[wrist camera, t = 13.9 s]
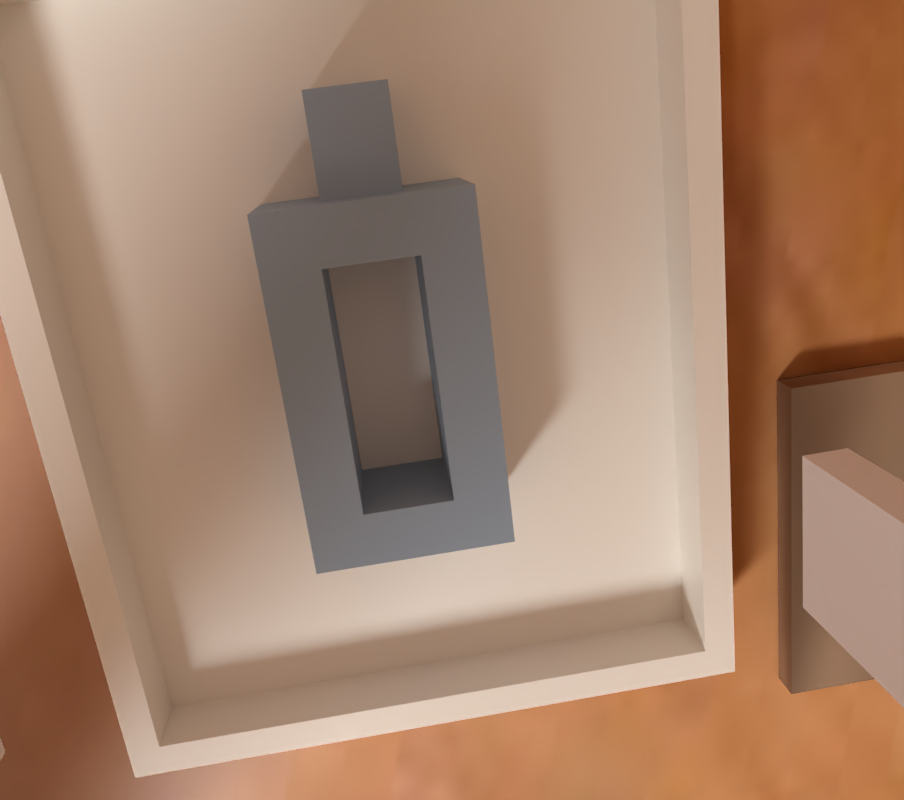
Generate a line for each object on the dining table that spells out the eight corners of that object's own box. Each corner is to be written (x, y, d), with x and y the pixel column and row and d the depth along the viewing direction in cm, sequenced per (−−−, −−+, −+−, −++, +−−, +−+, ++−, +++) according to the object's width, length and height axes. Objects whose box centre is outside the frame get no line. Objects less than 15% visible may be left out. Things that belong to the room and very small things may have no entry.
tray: (155, 717, 30) (135, 777, 28) (-49, -24, 23) (-106, -47, 20) (700, 623, 32) (734, 671, 29) (672, -106, 24) (715, -137, 22)
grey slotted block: (496, 495, 28) (514, 541, 25) (320, 523, 28) (316, 574, 25) (447, 76, 24) (462, 67, 21) (241, 102, 24) (224, 97, 21)
